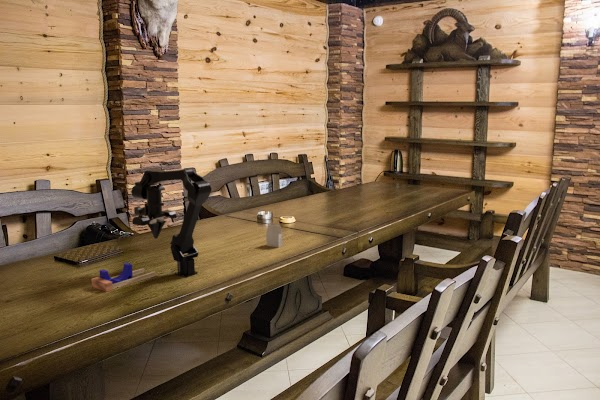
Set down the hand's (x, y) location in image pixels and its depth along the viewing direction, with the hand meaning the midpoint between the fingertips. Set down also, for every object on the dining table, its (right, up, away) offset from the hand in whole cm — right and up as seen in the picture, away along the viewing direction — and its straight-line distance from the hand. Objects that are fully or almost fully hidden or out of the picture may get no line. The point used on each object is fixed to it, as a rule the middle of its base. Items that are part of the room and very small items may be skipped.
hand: (155, 238), depth 223 cm
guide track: (-7, -15, -15) cm, 23 cm away
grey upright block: (+47, -6, +36) cm, 59 cm away
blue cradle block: (-10, -16, -17) cm, 25 cm away
